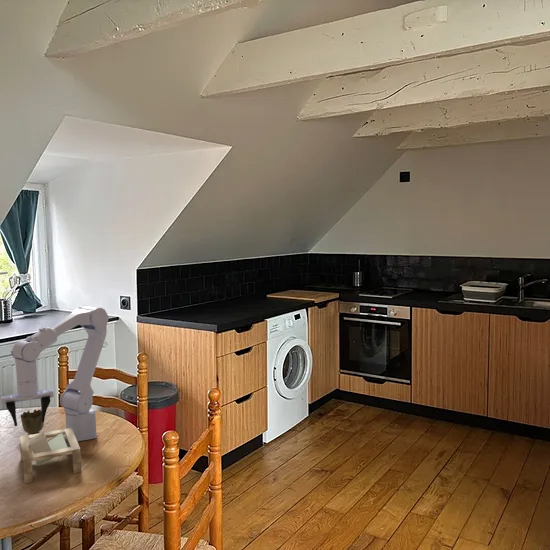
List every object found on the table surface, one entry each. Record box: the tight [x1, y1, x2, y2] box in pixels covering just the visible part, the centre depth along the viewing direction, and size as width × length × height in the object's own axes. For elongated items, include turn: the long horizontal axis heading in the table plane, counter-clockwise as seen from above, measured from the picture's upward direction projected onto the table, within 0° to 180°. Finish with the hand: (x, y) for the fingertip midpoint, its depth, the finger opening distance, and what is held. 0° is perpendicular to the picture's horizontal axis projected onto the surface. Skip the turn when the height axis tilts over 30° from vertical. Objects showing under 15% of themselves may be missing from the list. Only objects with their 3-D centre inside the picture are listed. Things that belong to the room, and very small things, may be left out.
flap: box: [35, 433, 70, 467], centre depth 169 cm, size 10×12×3 cm
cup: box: [20, 409, 45, 435], centre depth 190 cm, size 8×7×8 cm
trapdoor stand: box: [19, 428, 82, 484], centre depth 168 cm, size 15×18×7 cm
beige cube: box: [29, 431, 51, 454], centre depth 167 cm, size 4×4×4 cm
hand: (29, 423), depth 174 cm, fingers open, 7 cm apart
